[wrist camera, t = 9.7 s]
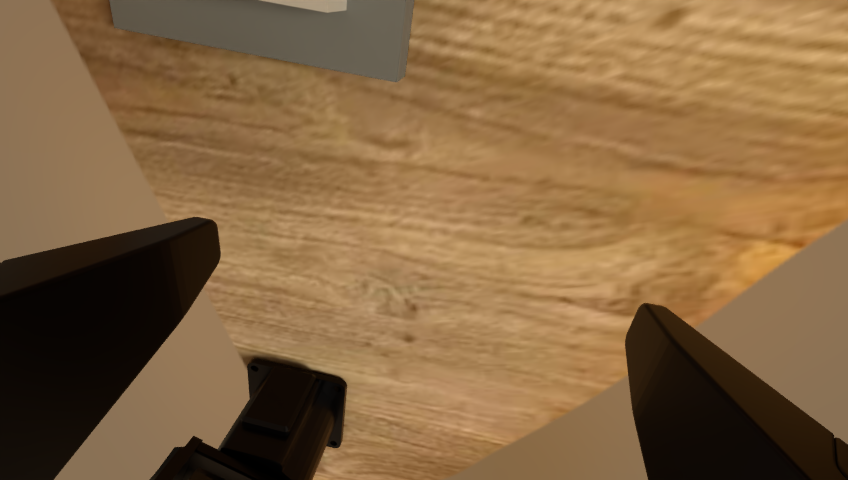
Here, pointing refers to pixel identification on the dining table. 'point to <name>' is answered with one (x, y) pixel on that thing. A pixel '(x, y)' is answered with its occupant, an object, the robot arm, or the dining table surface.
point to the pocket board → (285, 30)
